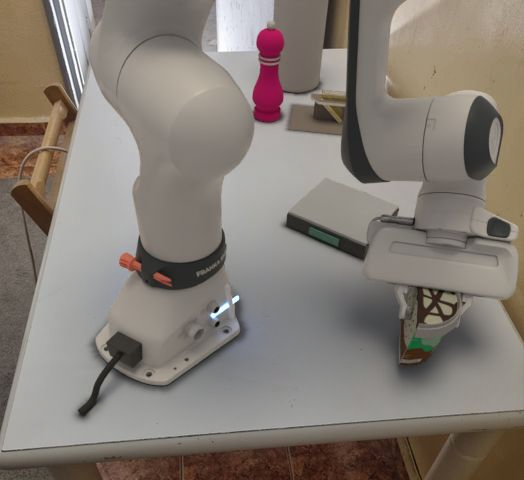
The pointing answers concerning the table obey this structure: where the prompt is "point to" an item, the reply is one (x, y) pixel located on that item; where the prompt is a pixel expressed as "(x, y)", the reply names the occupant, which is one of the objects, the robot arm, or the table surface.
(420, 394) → the table surface
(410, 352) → the food container
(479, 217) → the robot arm
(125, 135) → the table surface
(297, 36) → the cylinder vase
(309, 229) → the kitchen scale
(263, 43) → the pepper mill
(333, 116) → the platform
